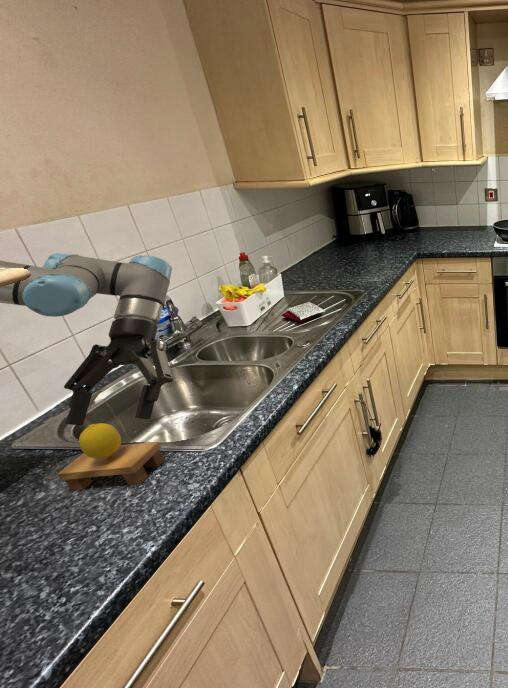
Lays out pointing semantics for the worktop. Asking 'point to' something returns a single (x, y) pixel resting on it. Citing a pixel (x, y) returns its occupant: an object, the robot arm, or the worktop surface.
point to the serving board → (114, 465)
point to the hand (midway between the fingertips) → (108, 421)
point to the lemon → (99, 440)
